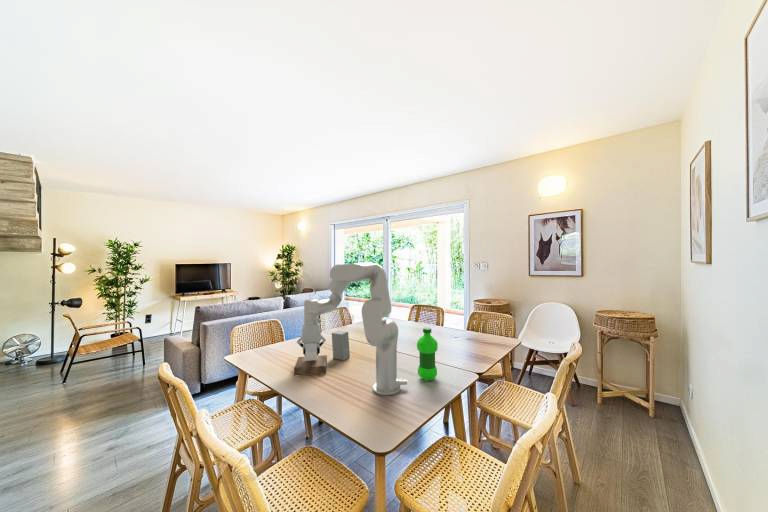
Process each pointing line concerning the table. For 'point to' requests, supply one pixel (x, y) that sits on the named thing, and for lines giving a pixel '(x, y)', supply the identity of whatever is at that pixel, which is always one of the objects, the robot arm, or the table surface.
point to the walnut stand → (310, 366)
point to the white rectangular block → (310, 351)
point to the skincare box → (340, 345)
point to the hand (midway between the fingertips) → (311, 354)
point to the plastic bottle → (427, 355)
